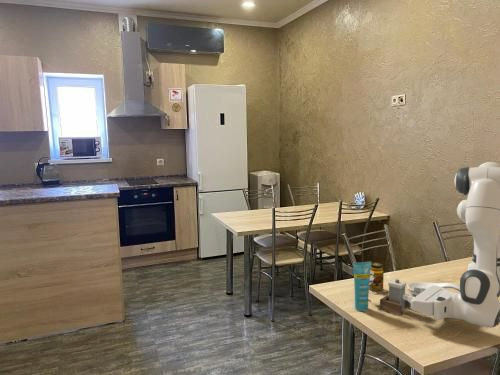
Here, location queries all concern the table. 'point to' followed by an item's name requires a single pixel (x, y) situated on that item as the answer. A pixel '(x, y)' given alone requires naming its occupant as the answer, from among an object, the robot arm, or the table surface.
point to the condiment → (377, 278)
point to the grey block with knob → (397, 292)
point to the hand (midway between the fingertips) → (409, 292)
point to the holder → (392, 306)
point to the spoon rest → (427, 285)
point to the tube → (361, 284)
